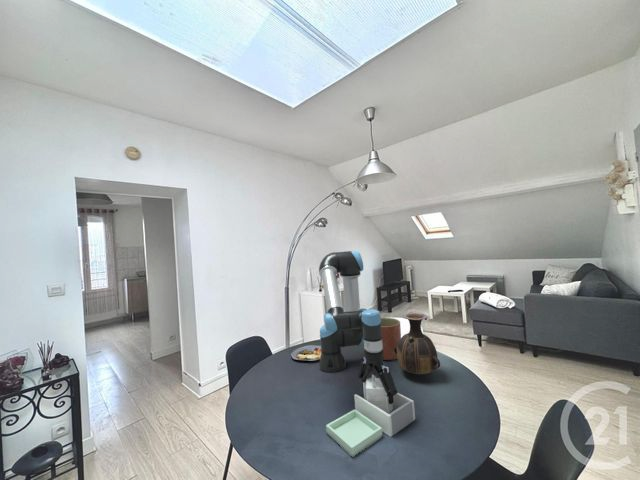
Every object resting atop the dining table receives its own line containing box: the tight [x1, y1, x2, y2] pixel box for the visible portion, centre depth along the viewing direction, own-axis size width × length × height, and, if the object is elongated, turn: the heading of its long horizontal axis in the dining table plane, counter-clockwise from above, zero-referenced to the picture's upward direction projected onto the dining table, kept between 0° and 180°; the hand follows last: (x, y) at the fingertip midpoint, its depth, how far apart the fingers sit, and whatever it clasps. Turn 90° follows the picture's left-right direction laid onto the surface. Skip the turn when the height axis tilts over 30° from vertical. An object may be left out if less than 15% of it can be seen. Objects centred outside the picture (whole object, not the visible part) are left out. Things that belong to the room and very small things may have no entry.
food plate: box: [290, 344, 321, 362], centre depth 166 cm, size 25×23×4 cm
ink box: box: [366, 373, 391, 414], centre depth 104 cm, size 9×8×13 cm
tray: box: [325, 409, 384, 458], centre depth 93 cm, size 14×14×3 cm
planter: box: [380, 317, 402, 361], centre depth 158 cm, size 19×19×20 cm
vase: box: [394, 312, 441, 375], centre depth 132 cm, size 23×19×30 cm
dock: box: [353, 392, 416, 438], centre depth 102 cm, size 18×14×7 cm
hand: (377, 404), depth 104 cm, fingers closed on ink box, 11 cm apart
